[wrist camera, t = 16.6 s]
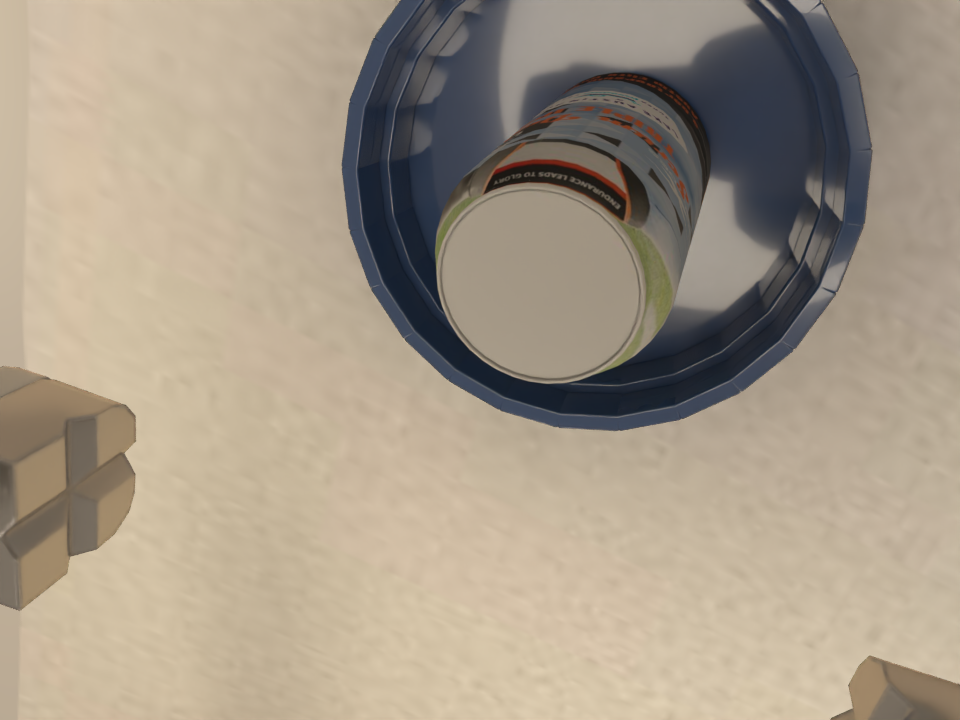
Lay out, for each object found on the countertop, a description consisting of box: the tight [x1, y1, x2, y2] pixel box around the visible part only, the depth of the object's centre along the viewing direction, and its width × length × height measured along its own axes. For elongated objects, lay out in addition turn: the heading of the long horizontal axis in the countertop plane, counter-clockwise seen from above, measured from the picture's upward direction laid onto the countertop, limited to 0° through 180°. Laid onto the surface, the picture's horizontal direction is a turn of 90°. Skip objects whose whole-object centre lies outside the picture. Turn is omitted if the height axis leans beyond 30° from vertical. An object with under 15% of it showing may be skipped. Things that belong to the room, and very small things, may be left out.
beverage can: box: [435, 72, 711, 384], centre depth 23 cm, size 6×7×12 cm
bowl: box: [342, 0, 872, 431], centre depth 27 cm, size 16×16×4 cm
